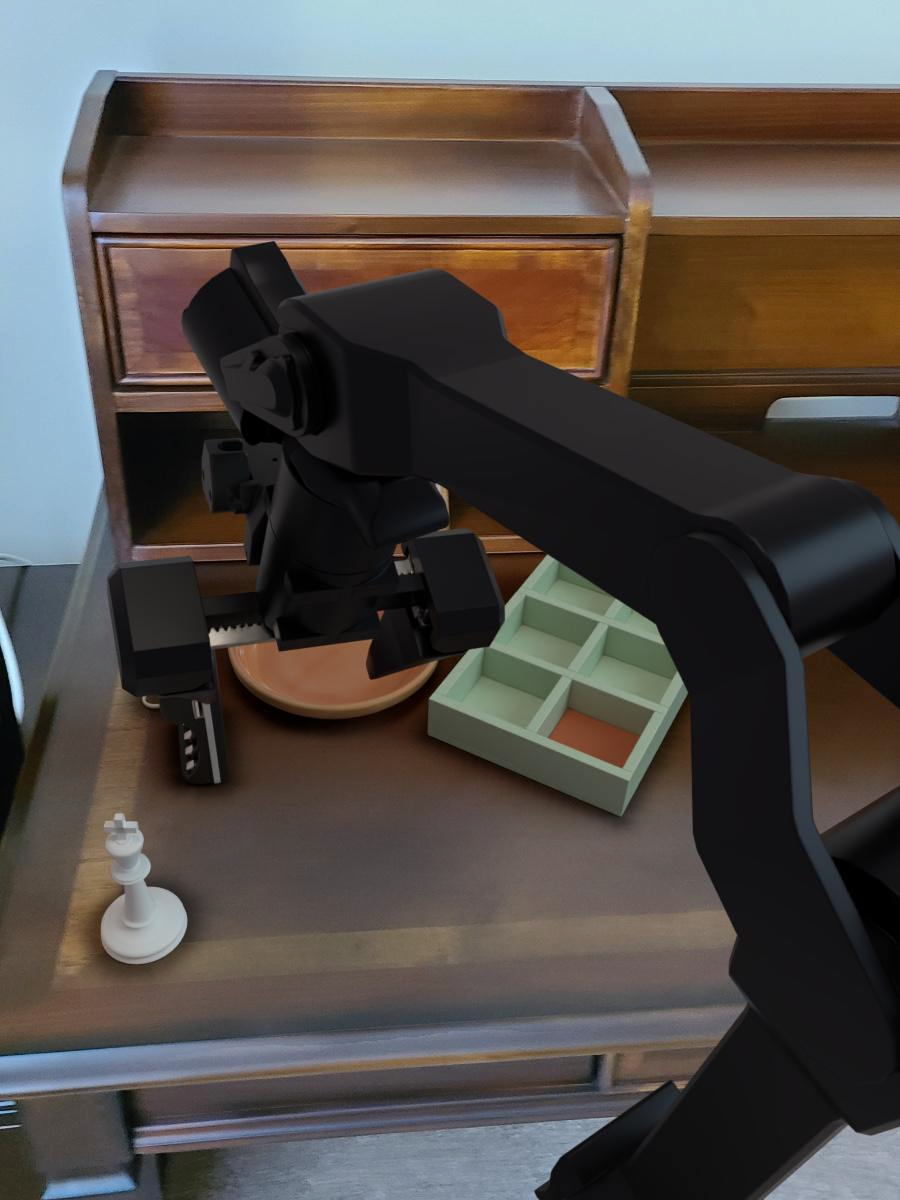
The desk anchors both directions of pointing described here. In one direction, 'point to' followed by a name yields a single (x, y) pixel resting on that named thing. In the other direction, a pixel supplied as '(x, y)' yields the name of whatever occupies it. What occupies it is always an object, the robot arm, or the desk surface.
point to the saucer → (323, 679)
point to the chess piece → (138, 902)
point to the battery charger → (200, 735)
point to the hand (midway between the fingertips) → (291, 683)
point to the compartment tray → (564, 691)
